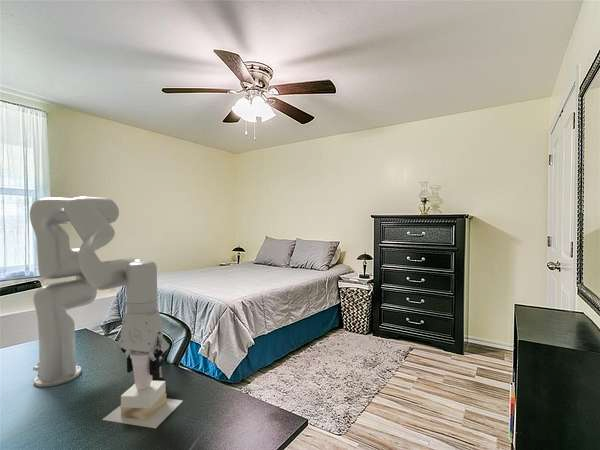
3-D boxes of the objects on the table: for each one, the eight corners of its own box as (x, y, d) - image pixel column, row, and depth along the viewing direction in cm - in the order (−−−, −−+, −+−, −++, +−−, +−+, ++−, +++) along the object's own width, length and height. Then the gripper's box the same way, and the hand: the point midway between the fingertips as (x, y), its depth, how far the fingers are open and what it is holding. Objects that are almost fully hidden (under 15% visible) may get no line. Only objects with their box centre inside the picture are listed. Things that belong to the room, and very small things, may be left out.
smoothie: (129, 394, 82) (129, 341, 81) (130, 382, 88) (129, 333, 87) (156, 388, 85) (156, 337, 84) (155, 377, 90) (155, 329, 90)
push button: (148, 397, 93) (147, 364, 93) (138, 392, 96) (137, 359, 95) (168, 387, 98) (167, 355, 98) (158, 382, 101) (157, 351, 101)
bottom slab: (120, 416, 83) (120, 405, 83) (142, 399, 91) (141, 389, 91) (147, 420, 82) (146, 409, 81) (166, 402, 89) (166, 392, 89)
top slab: (121, 407, 83) (120, 396, 82) (138, 390, 90) (138, 380, 90) (150, 408, 82) (150, 397, 82) (165, 391, 90) (165, 381, 90)
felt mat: (102, 421, 82) (101, 419, 82) (135, 395, 94) (135, 394, 94) (155, 430, 79) (155, 428, 79) (183, 402, 90) (183, 400, 90)
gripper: (104, 308, 84) (105, 374, 84) (161, 313, 80) (162, 382, 81) (125, 301, 91) (126, 362, 92) (178, 304, 87) (179, 368, 88)
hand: (143, 370), depth 86 cm, fingers closed on smoothie, 6 cm apart
